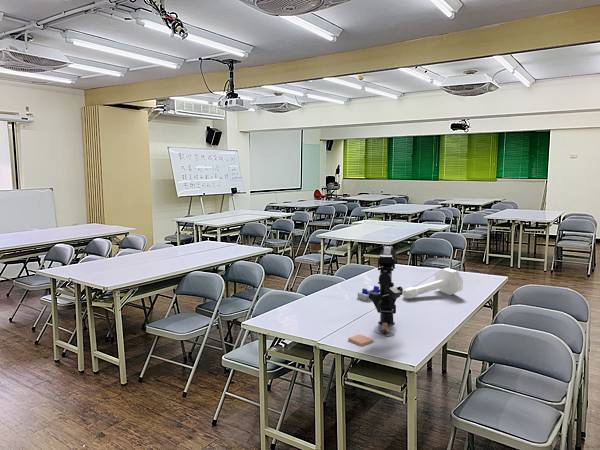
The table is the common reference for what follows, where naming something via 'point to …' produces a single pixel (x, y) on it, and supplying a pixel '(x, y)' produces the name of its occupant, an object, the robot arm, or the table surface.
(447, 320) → the table surface
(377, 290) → the cable clip
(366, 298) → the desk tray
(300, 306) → the table surface
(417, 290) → the white mallet
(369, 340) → the tile
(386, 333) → the float
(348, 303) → the table surface
